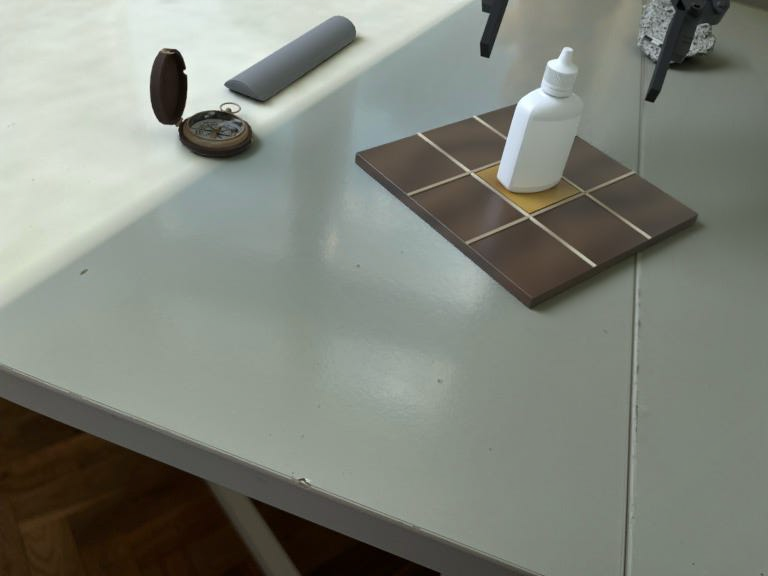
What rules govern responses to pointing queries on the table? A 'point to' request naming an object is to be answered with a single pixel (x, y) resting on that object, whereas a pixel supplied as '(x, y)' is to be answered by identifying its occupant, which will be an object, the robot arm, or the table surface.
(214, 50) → the table surface
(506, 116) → the grid board
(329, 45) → the gray half cylinder
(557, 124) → the eye dropper bottle
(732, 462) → the table surface
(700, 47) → the rock sample
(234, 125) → the compass
